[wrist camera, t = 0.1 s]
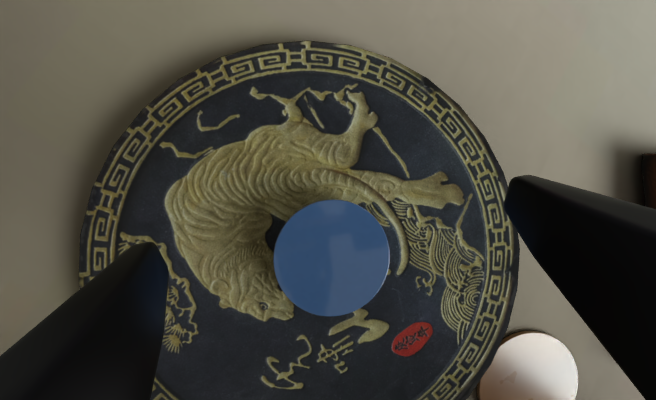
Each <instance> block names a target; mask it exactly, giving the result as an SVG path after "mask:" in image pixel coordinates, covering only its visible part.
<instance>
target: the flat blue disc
mask: <svg viewBox="0 0 656 400" xmlns="http://www.w3.org/2000/svg"><path fill="white" fill-rule="evenodd" d="M389 263H390V249H389V244H388V240H387V237H386V234H385V232H384V230H383V228H382V226H381V225H380V223H379V222H378V221H377V219H376V218H375V217H374V216H373V215H372V214H371V213H370V212H368V211H367V210H366V209H364V208H363V207H361V206H359V205H357V204H355V203H352V202H349V201H344V200H339V199H321V200H316V201H313V202H310V203H308V204H306V205H304V206H302V207H301V208H299V209H298V210H296V211H295V212H294V213H293V214H292V215H290V217H289V218H288V219H287V220H286V221H285V223H284V224H283V226H282V227H281V229H280V231H279V233H278V236H277V239H276V243H275V248H274V255H273V264H274V271H275V276H276V279H277V281H278V284H279V286H280V288H281V289H282V291H283V292H284V294H285V295H286V296H287V297H288V298H289V300H290V301H291V302H293V303H294V304H295V305H296V306H298V307H299V308H301V309H303V310H304V311H307V312H309V313H312V314H315V315H320V316H341V315H345V314H348V313H351V312H353V311H356V310H358V309H359V308H361V307H363V306H364V305H365V304H367V303H368V302H369V301H370V300H371V299H372V298H373V297H374V296H375V295H376V294H377V293H378V291H379V290H380V288H381V287H382V285H383V283H384V281H385V279H386V276H387V273H388V269H389Z"/></svg>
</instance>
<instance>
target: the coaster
mask: <svg viewBox="0 0 656 400" xmlns="http://www.w3.org/2000/svg"><path fill="white" fill-rule="evenodd" d="M577 389H578V372H577V367H576V363H575V361H574V358H573V356H572V354H571V353H570V351H569V350H568V349H567V347H566V346H565V345H564V344H563V343H562V342H561V341H559V340H558V339H556V338H555V337H553V336H551V335H549V334H547V333H544V332H540V331H521V332H518V333H514V334H512V335H510V336H508V337H506V338H504V339H503V340H502V341H501V344H500V346H499V348H498V350H497V352H496V355H495V357H494V359H493V361H492V363H491V365H490V367H489V368H488V369H487V371H486V372H485V374H484V375H483V377H482V378H481V380H480V381H479V383H478V384H477V397H478V400H575V398H576V394H577Z"/></svg>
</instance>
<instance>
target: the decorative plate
mask: <svg viewBox="0 0 656 400" xmlns="http://www.w3.org/2000/svg"><path fill="white" fill-rule="evenodd" d="M507 190H508V186H507V182H506V179H505V176H504V173H503V171H502V169H501V167H500V165H499V163H498V161H497V159H496V157H495V155H494V154H493V152H492V150H491V148H490V146H489V144H488V142H487V140H486V139H485V137H484V135H483V134H482V133H481V132H480V130H479V129H478V128H477V127H476V125H475V124H474V123H473V122H472V120H471V119H470V118H469V117H468V115H467V114H466V113H465V112H464V110H463V109H462V108H461V107H460V105H458V104H457V103H456V102H455V101H454V100H453V99H451V98H450V97H449V96H448V95H447V94H445V93H444V92H443V91H442V90H441V89H440V88H438V87H437V86H436V85H435V84H434V83H432V82H431V81H430V80H429V79H428V78H426V77H424V76H422V75H420V74H419V73H417V72H415V71H413V70H411V69H410V68H408V67H406V66H404V65H402V64H401V63H399V62H397V61H395V60H394V59H392V58H389V57H386V56H382V55H379V54H376V53H373V52H370V51H367V50H364V49H361V48H357V47H354V46H351V45H342V44H333V43H324V42H315V41H298V42H287V43H276V44H265V45H260V46H257V47H253V48H250V49H247V50H243V51H240V52H237V53H233V54H230V55H226V56H223V57H220V58H218V59H216V60H214V61H212V62H210V63H208V64H207V65H205V66H203V67H201V68H199V69H197V70H195V71H193V72H192V73H190V74H188V75H186V76H184V77H182V78H180V79H178V80H177V81H176V82H175V83H174V84H172V85H171V86H170V87H169V88H168V89H166V90H165V91H164V92H163V93H162V94H160V95H159V96H158V97H157V98H156V99H154V100H153V101H152V102H151V103H150V104H148V105H147V106H146V107H145V108H144V109H142V111H141V112H140V113H139V115H138V116H137V117H136V118H135V120H134V121H133V122H132V123H131V125H130V126H129V127H128V128H127V130H126V131H125V132H124V133H123V135H122V136H121V137H120V139H119V140H118V141H117V142H116V144H115V145H114V146H113V148H112V150H111V152H110V154H109V156H108V158H107V160H106V162H105V164H104V166H103V168H102V170H101V172H100V174H99V176H98V178H97V180H96V182H95V184H94V186H93V188H92V191H91V195H90V199H89V203H88V207H87V211H86V215H85V219H84V223H83V227H82V230H81V234H80V259H79V287H80V289H81V288H82V287H83V286H85V285H86V284H87V283H88V282H89V281H90V280H92V279H93V278H94V277H95V276H96V275H98V274H99V273H100V272H101V271H102V270H104V269H105V268H106V267H107V266H108V265H110V264H111V263H112V262H113V261H114V260H116V259H117V258H118V257H119V256H120V255H121V254H123V253H124V252H125V251H126V250H127V249H129V248H130V247H131V246H132V245H134V244H139V243H144V242H154V243H155V244H156V245H157V247H158V249H159V251H160V253H161V255H162V257H163V259H164V261H165V262H166V264H167V267H168V271H169V280H168V291H167V303H166V315H165V326H164V335H163V340H162V346H161V351H160V356H159V360H158V365H157V370H156V375H155V379H154V384H153V389H152V394H151V399H150V400H466V399H467V398H468V397H469V396H470V394H471V393H472V391H473V390H474V388H475V387H476V385H477V384H478V383H479V381H480V380H481V378H482V377H483V375H484V374H485V372H486V371H487V369H488V368H489V367H490V365H491V363H492V361H493V359H494V357H495V355H496V352H497V350H498V348H499V346H500V344H501V341H502V339H503V337H504V335H505V332H506V330H507V328H508V324H509V320H510V316H511V312H512V308H513V304H514V300H515V296H516V292H517V285H518V269H519V253H520V248H519V239H518V231H517V230H516V228H515V227H514V225H513V223H512V222H511V220H510V219H509V217H508V215H507V214H506V212H505V210H504V200H505V197H506V193H507ZM321 199H339V200H344V201H349V202H352V203H355V204H357V205H359V206H361V207H363V208H364V209H366V210H367V211H368V212H370V213H371V214H372V215H373V216H374V217H375V218H376V219H377V221H378V222H379V223H380V225H381V226H382V228H383V230H384V232H385V234H386V237H387V240H388V244H389V249H390V263H389V269H388V273H387V276H386V279H385V281H384V283H383V285H382V287H381V288H380V290H379V291H378V293H377V294H376V295H375V296H374V297H373V298H372V299H371V300H370V301H369V302H368V303H367V304H365V305H364V306H363V307H361V308H359V309H358V310H356V311H353V312H351V313H348V314H345V315H341V316H320V315H315V314H312V313H309V312H307V311H304V310H303V309H301V308H299V307H298V306H296V305H295V304H294V303H293V302H291V301H290V300H289V298H288V297H287V296H286V295H285V294H284V292H283V291H282V289H281V288H280V286H279V284H278V281H277V279H276V276H275V271H274V264H273V255H274V248H275V243H276V239H277V236H278V233H279V231H280V229H281V227H282V226H283V224H284V223H285V221H286V220H287V219H288V218H289V217H290V215H292V214H293V213H294V212H295V211H296V210H298V209H299V208H301V207H302V206H304V205H306V204H308V203H310V202H313V201H316V200H321Z"/></svg>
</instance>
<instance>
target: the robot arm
mask: <svg viewBox="0 0 656 400" xmlns="http://www.w3.org/2000/svg"><path fill="white" fill-rule="evenodd" d="M504 210H505V212H506V214H507V215H508V217H509V219H510V220H511V222H512V223H513V225H514V227H515V228H516V230H517V231H518V233H519V234H520V236H521V238H522V239H523V241H524V242H525V244H526V245H527V247H528V249H529V250H530V252H531V253H532V255H533V256H534V258H535V259H536V260H537V262H538V263H539V264H540V266H541V267H542V268H543V270H544V271H545V272H546V273H547V275H548V276H549V277H550V278H551V280H552V281H553V282H554V284H555V285H556V286H557V287H558V289H559V290H560V291H561V293H562V294H563V295H564V296H565V298H566V299H567V300H568V301H569V303H570V304H571V305H572V307H573V308H574V309H575V310H576V312H577V313H578V314H579V315H580V317H581V318H582V319H583V321H584V322H585V323H586V324H587V326H588V327H589V328H590V329H591V331H592V332H593V333H594V335H595V336H596V337H597V338H598V340H599V341H600V342H601V343H602V345H603V346H604V347H605V349H606V350H607V351H608V352H609V354H610V355H611V356H612V357H613V359H614V360H615V361H616V363H617V364H618V365H619V366H620V368H621V369H622V370H623V372H624V373H625V374H626V375H627V377H628V378H629V379H630V380H631V382H632V383H633V384H634V386H635V387H636V388H637V389H638V391H639V392H640V393H641V394H642V396H643V397H644V398H645V400H656V209H652V208H649V207H645V206H642V205H638V204H634V203H631V202H627V201H623V200H620V199H616V198H612V197H609V196H605V195H601V194H598V193H594V192H590V191H587V190H583V189H579V188H576V187H572V186H569V185H565V184H561V183H558V182H554V181H550V180H547V179H543V178H539V177H536V176H532V175H524V176H518V177H514V178H513V179H512V180H511V181H510V183H509V187H508V190H507V193H506V197H505V200H504ZM168 280H169V271H168V267H167V264H166V262H165V261H164V259H163V257H162V255H161V253H160V251H159V249H158V247H157V245H156V244H155V243H154V242H144V243H139V244H134V245H132V246H131V247H130V248H129V249H127V250H126V251H125V252H124V253H123V254H121V255H120V256H119V257H118V258H117V259H116V260H114V261H113V262H112V263H111V264H110V265H108V266H107V267H106V268H105V269H104V270H102V271H101V272H100V273H99V274H98V275H96V276H95V277H94V278H93V279H92V280H90V281H89V282H88V283H87V284H86V285H85V286H83V287H82V288H81V289H80V290H79V291H77V292H76V293H75V294H74V295H73V296H71V297H70V298H69V299H68V300H67V301H65V302H64V303H63V304H62V305H61V306H59V307H58V308H57V309H56V310H55V311H53V312H52V313H51V314H50V315H49V316H48V317H46V318H45V319H44V320H43V321H42V322H40V323H39V324H38V325H37V326H36V327H34V328H33V329H32V330H31V331H30V332H28V333H27V334H26V335H25V336H24V337H22V338H21V339H20V340H19V341H18V342H16V343H15V344H14V345H13V346H12V347H11V348H9V349H8V350H7V351H6V352H5V353H3V354H2V355H1V356H0V400H150V399H151V394H152V389H153V384H154V379H155V375H156V370H157V365H158V360H159V356H160V351H161V346H162V340H163V335H164V326H165V315H166V303H167V291H168Z"/></svg>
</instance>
